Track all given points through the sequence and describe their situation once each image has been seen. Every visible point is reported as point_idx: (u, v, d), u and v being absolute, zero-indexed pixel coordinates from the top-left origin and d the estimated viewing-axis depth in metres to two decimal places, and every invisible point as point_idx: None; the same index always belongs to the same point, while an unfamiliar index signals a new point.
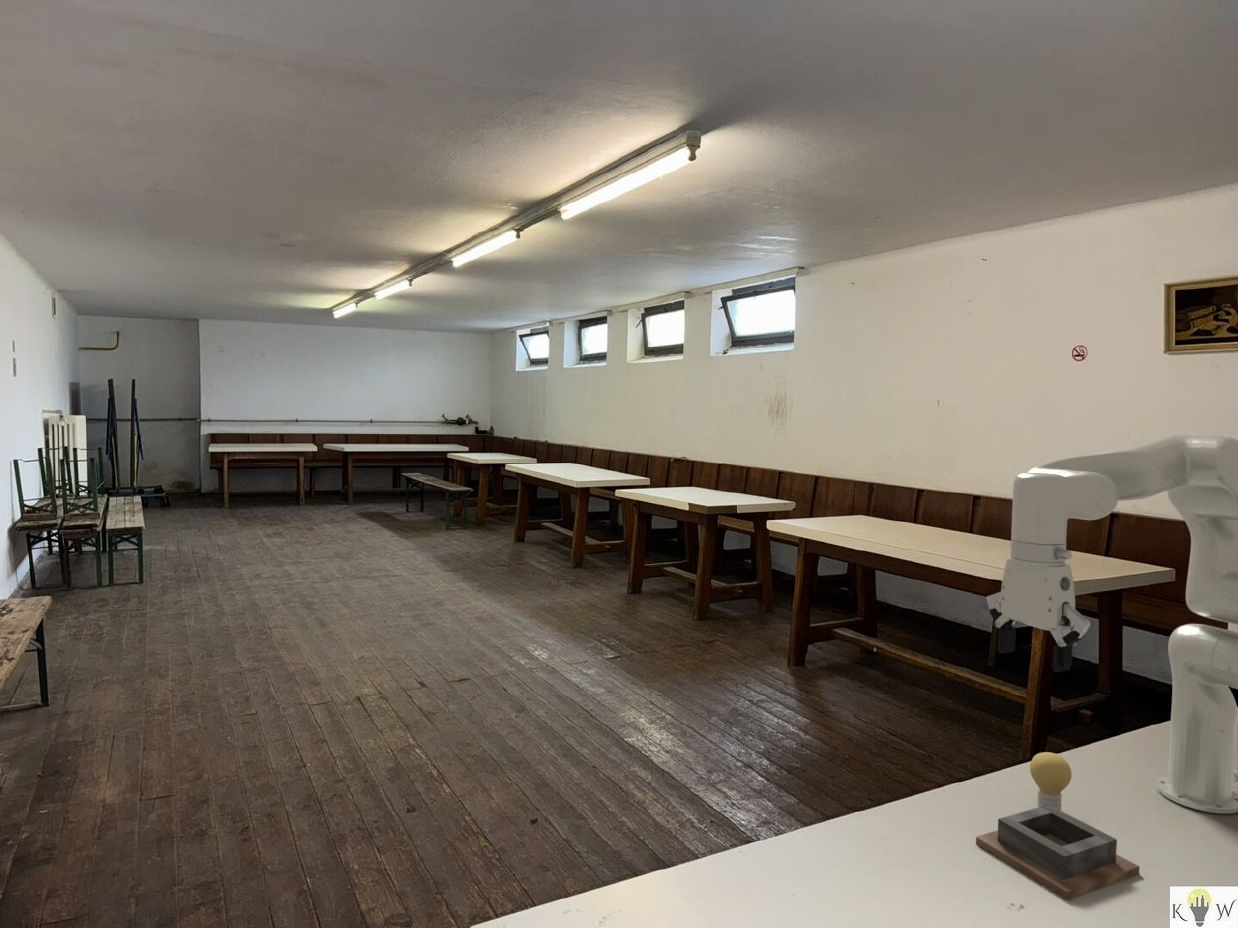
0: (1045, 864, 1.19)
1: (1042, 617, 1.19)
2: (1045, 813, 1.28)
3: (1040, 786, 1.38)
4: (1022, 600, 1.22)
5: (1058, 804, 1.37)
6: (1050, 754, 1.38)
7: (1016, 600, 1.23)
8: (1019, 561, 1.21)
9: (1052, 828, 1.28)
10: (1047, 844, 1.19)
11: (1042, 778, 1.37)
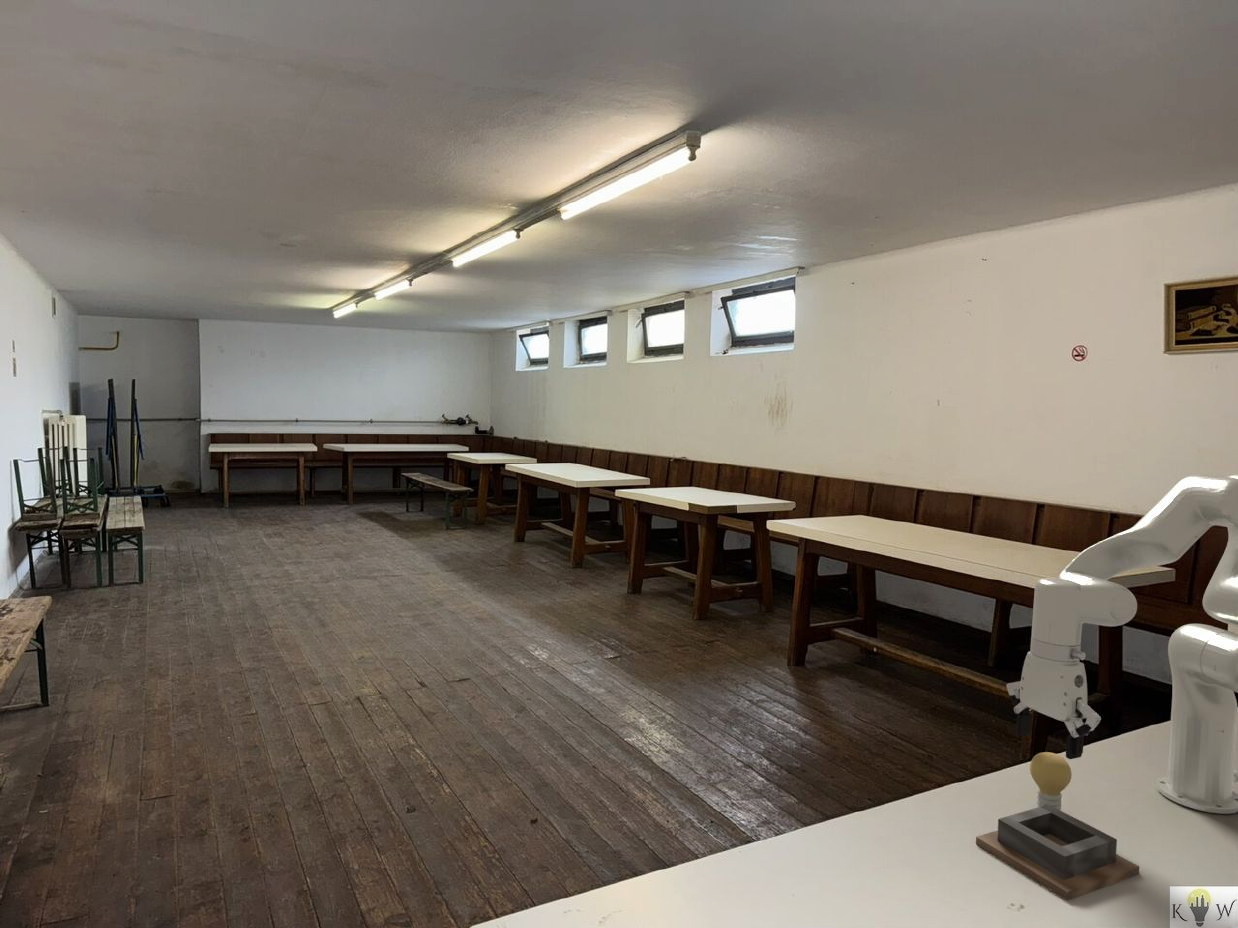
0: (1045, 864, 1.19)
1: (1058, 709, 1.34)
2: (1045, 813, 1.28)
3: (1040, 786, 1.38)
4: (1040, 692, 1.37)
5: (1058, 804, 1.37)
6: (1050, 754, 1.38)
7: (1034, 691, 1.38)
8: (1038, 658, 1.36)
9: (1052, 828, 1.28)
10: (1047, 844, 1.19)
11: (1042, 778, 1.37)
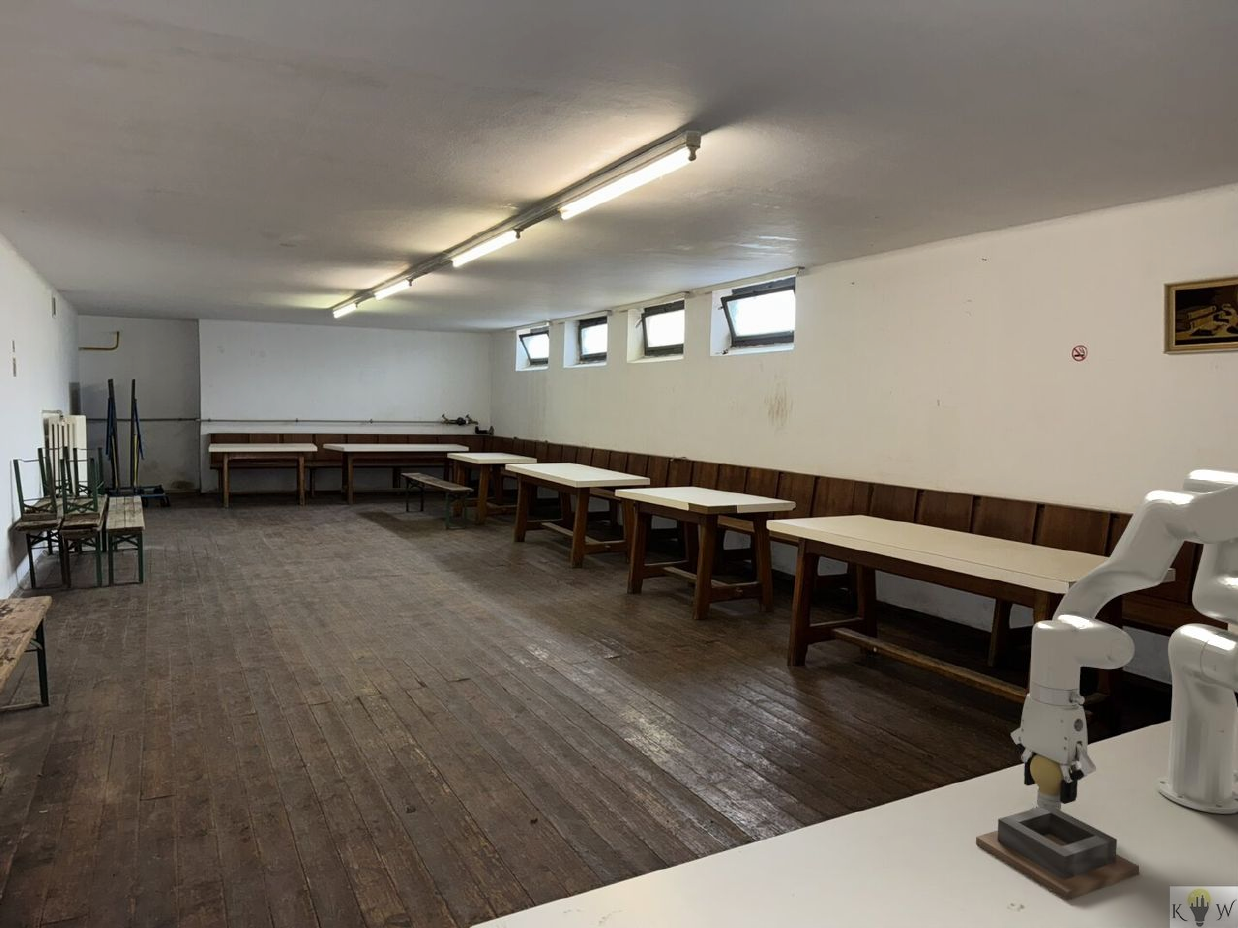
0: (1045, 864, 1.19)
1: (1058, 753, 1.34)
2: (1045, 813, 1.28)
3: (1040, 786, 1.38)
4: (1040, 735, 1.37)
5: (1058, 804, 1.37)
6: None
7: (1034, 734, 1.38)
8: (1037, 702, 1.36)
9: (1052, 828, 1.28)
10: (1047, 844, 1.19)
11: (1042, 778, 1.37)
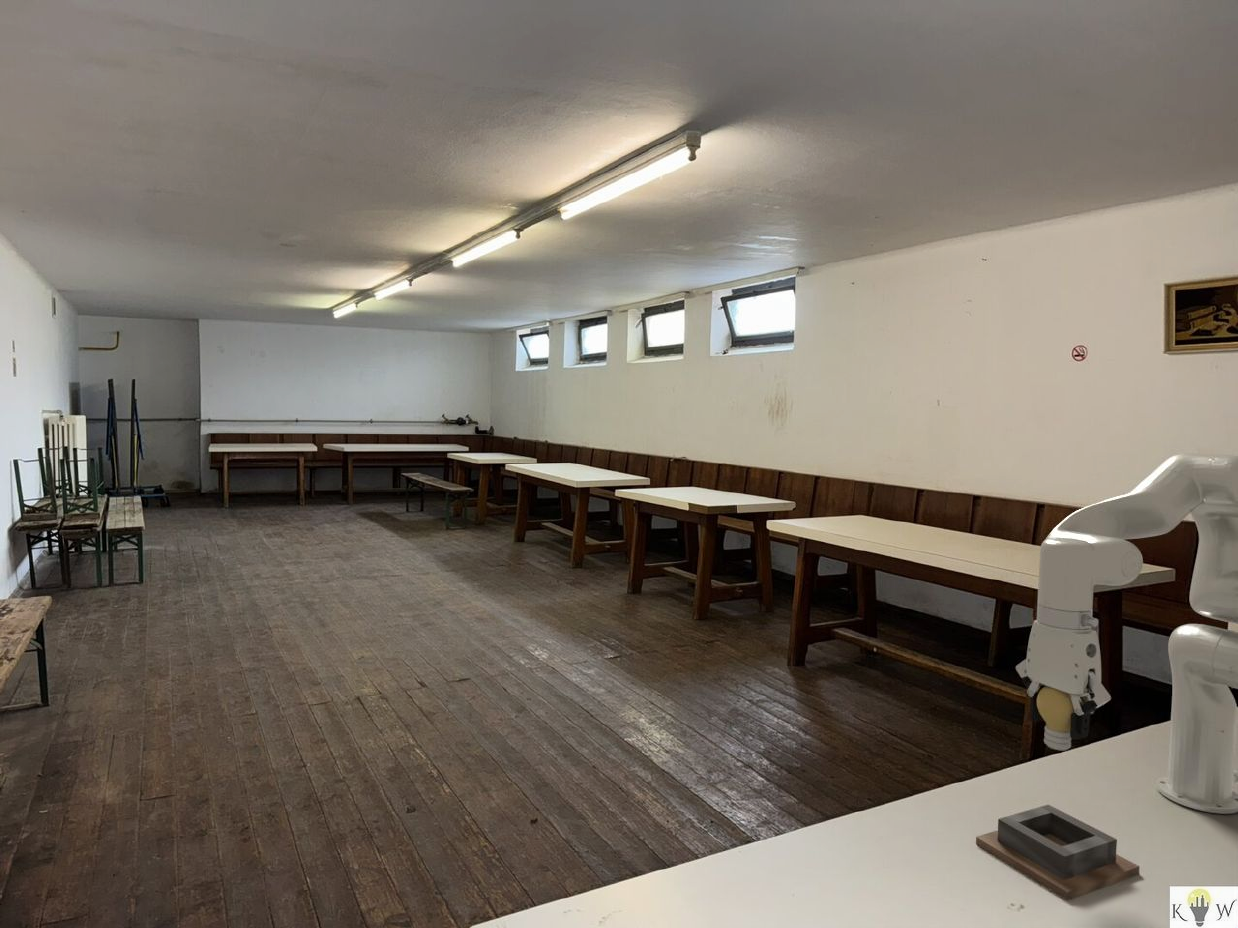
0: (1045, 864, 1.19)
1: (1068, 682, 1.21)
2: (1045, 813, 1.28)
3: (1048, 721, 1.24)
4: (1048, 664, 1.23)
5: (1068, 741, 1.23)
6: None
7: (1042, 664, 1.24)
8: (1045, 626, 1.22)
9: (1052, 828, 1.28)
10: (1047, 844, 1.19)
11: (1049, 711, 1.23)
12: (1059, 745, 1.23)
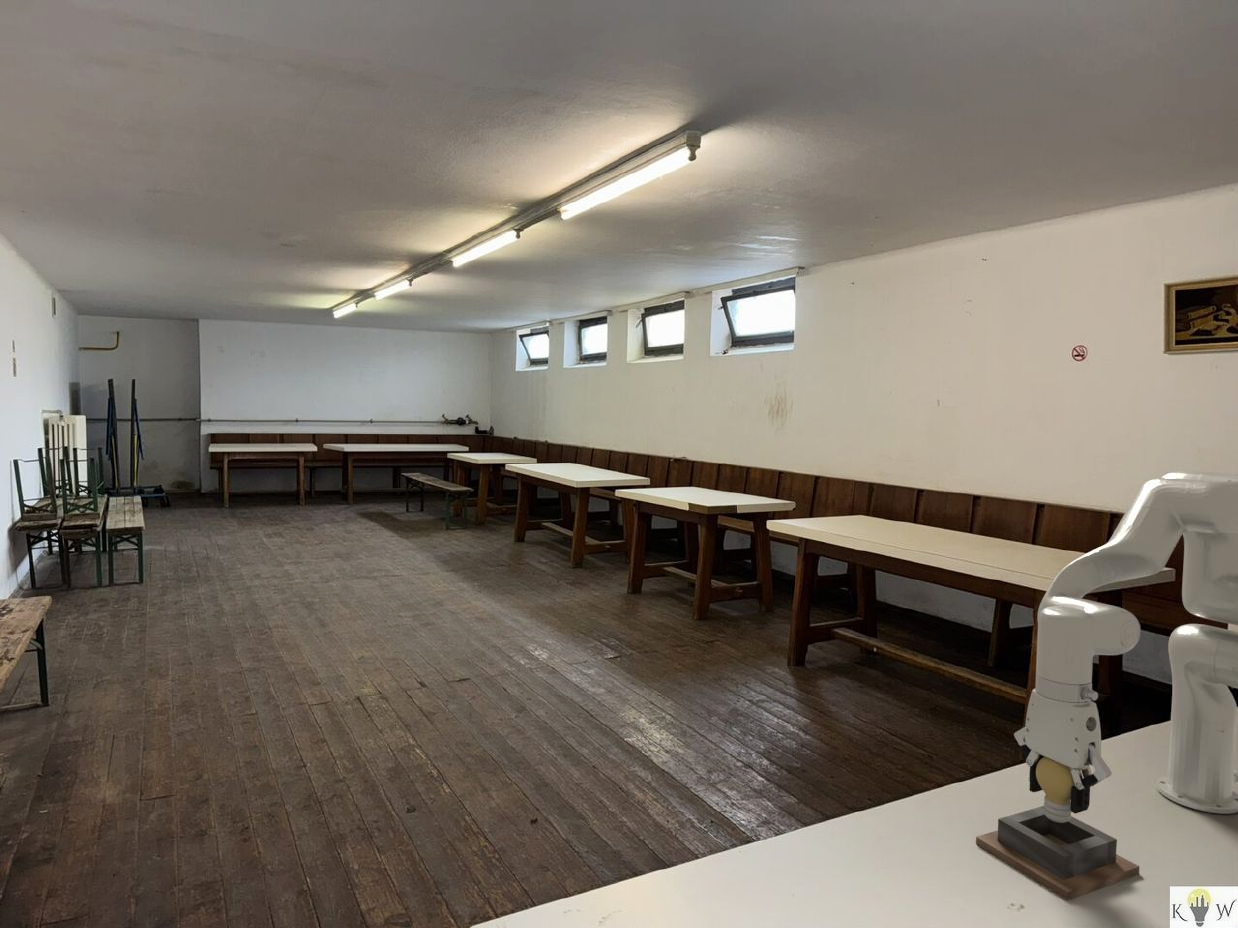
0: (1045, 864, 1.19)
1: (1068, 756, 1.19)
2: None
3: (1047, 793, 1.22)
4: (1047, 736, 1.22)
5: (1068, 813, 1.21)
6: None
7: (1041, 734, 1.23)
8: (1045, 698, 1.20)
9: (1052, 828, 1.28)
10: (1047, 844, 1.19)
11: (1049, 784, 1.21)
12: (1059, 818, 1.21)
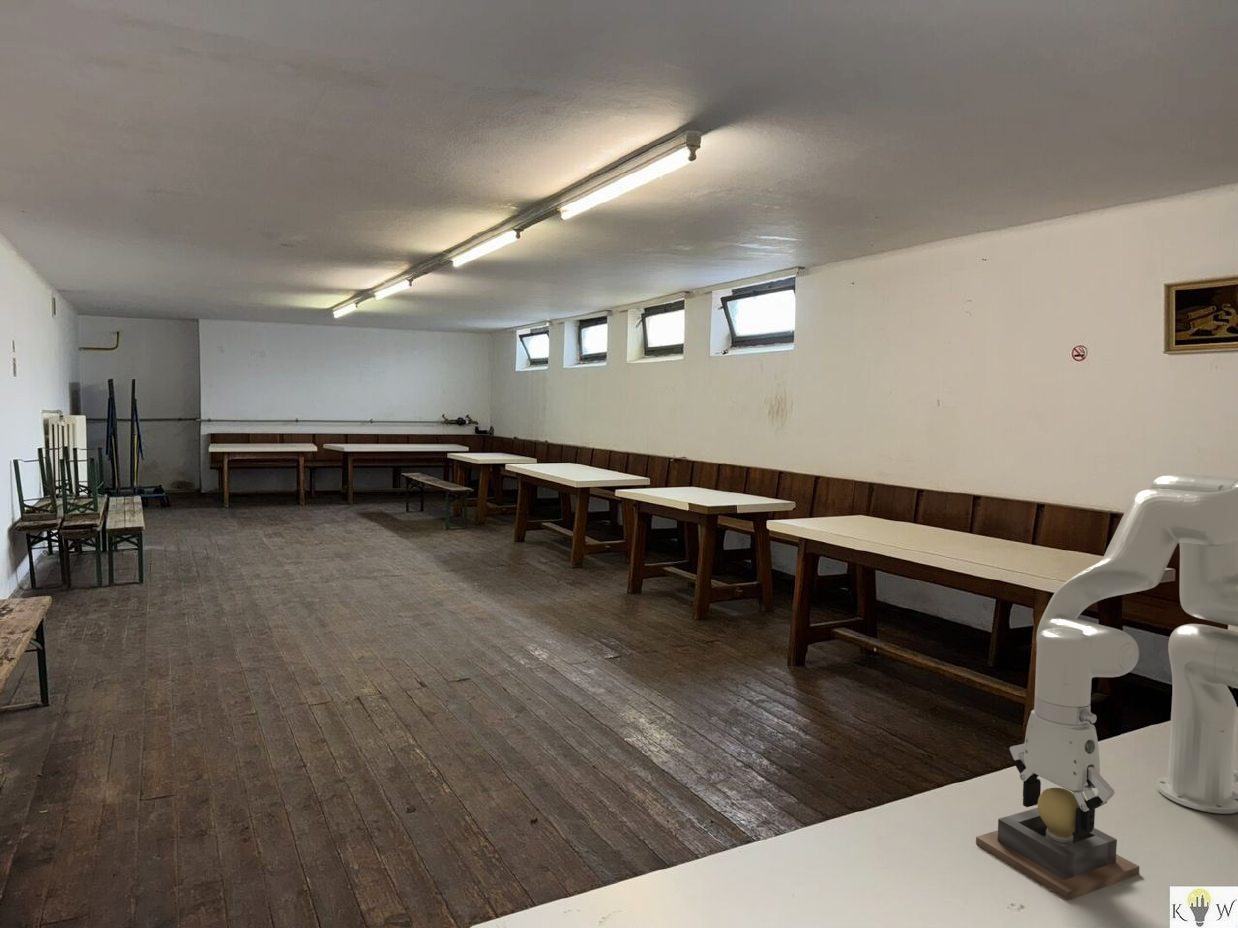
0: (1045, 864, 1.19)
1: (1067, 778, 1.19)
2: None
3: (1049, 826, 1.22)
4: (1046, 757, 1.22)
5: None
6: (1060, 790, 1.22)
7: (1040, 756, 1.23)
8: (1043, 720, 1.21)
9: None
10: (1047, 844, 1.19)
11: (1051, 818, 1.21)
12: None
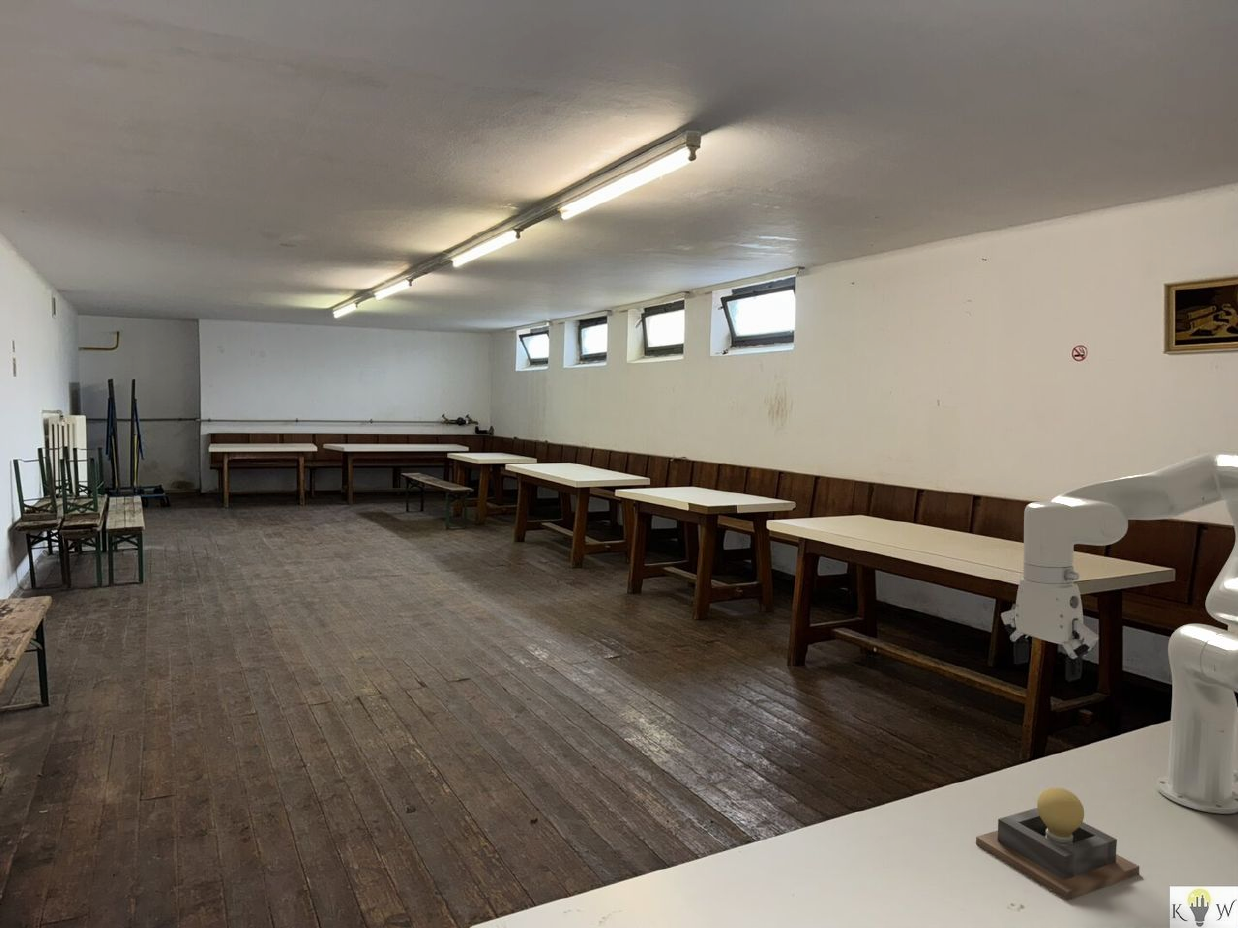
0: (1045, 864, 1.19)
1: (1055, 632, 1.33)
2: None
3: (1049, 826, 1.22)
4: (1035, 617, 1.35)
5: None
6: (1060, 790, 1.22)
7: (1030, 617, 1.36)
8: (1032, 582, 1.34)
9: None
10: (1047, 844, 1.19)
11: (1051, 818, 1.21)
12: None
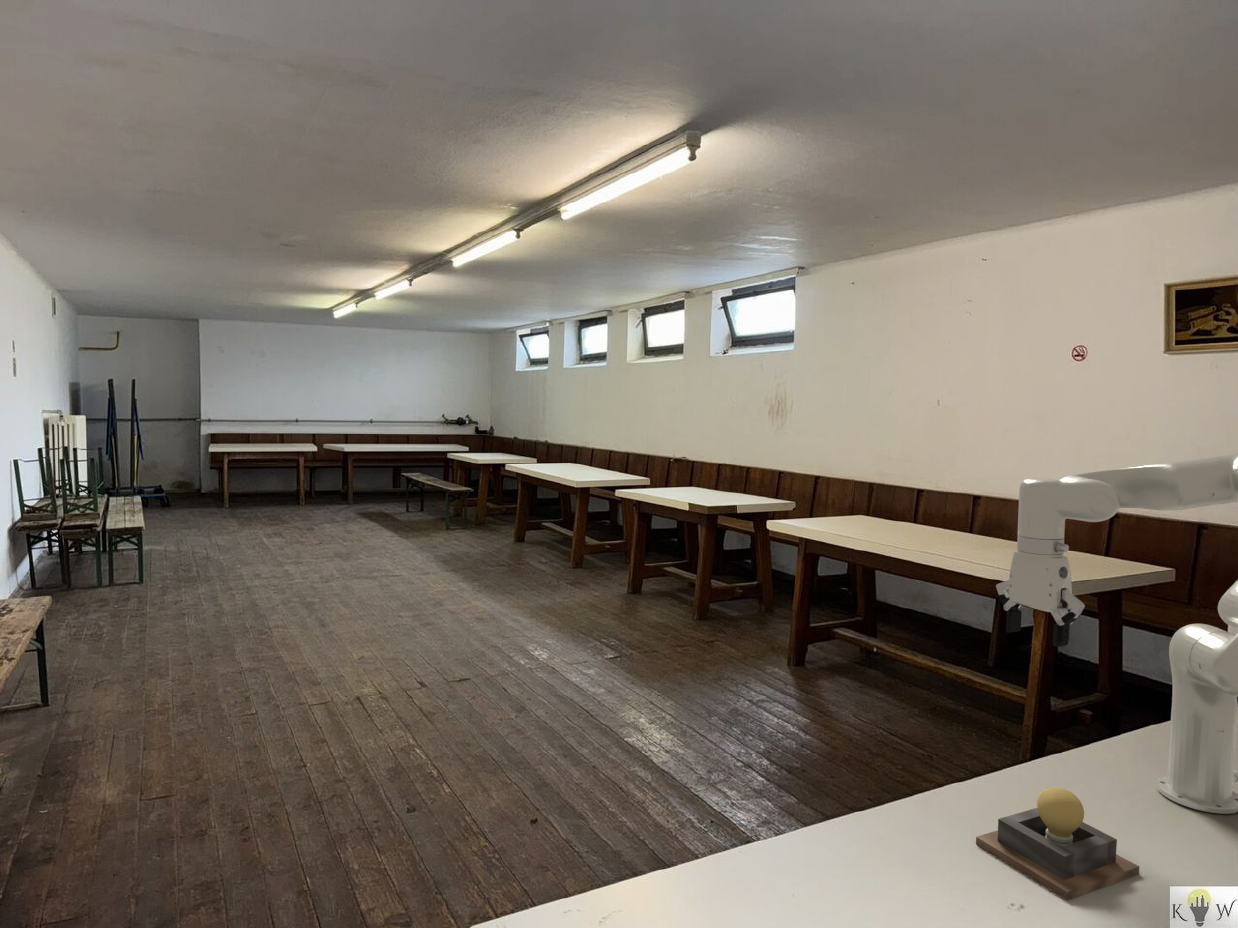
0: (1045, 864, 1.19)
1: (1044, 601, 1.41)
2: None
3: (1049, 826, 1.22)
4: (1027, 587, 1.44)
5: None
6: (1060, 790, 1.22)
7: (1021, 587, 1.45)
8: (1024, 553, 1.42)
9: None
10: (1047, 844, 1.19)
11: (1051, 817, 1.21)
12: None
